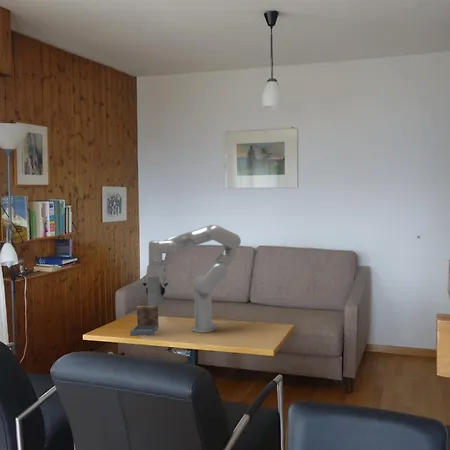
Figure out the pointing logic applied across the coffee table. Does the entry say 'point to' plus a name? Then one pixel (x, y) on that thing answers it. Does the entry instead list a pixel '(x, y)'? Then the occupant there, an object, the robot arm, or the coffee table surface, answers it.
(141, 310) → the dark block on base
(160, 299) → the skincare box
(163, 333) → the coffee table surface
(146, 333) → the blue-grey shallow tray
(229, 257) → the robot arm
